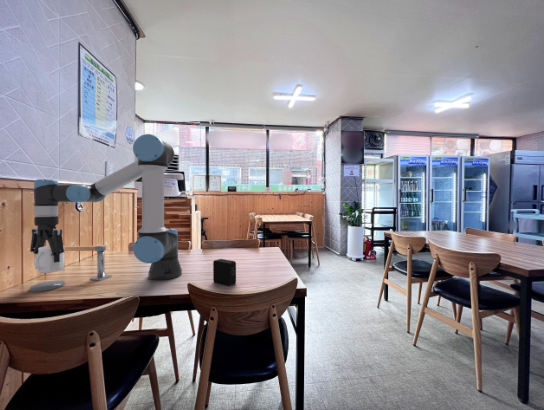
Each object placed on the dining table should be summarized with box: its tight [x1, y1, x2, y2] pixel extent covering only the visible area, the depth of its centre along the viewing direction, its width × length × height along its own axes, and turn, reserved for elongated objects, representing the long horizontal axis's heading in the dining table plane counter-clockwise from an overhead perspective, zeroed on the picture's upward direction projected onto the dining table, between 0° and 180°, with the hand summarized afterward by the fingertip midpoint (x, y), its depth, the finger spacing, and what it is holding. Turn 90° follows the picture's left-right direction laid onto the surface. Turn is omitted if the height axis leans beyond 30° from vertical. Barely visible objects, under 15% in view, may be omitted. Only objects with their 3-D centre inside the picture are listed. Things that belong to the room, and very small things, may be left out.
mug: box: [33, 244, 66, 274], centre depth 103 cm, size 12×8×10 cm
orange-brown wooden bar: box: [64, 245, 107, 252], centre depth 114 cm, size 4×19×2 cm, turn 94°
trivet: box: [29, 280, 66, 293], centre depth 103 cm, size 11×11×1 cm
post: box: [89, 250, 113, 281], centre depth 115 cm, size 6×6×13 cm
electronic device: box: [212, 258, 237, 287], centre depth 108 cm, size 4×10×10 cm, turn 58°
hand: (47, 269), depth 103 cm, fingers closed on mug, 8 cm apart
